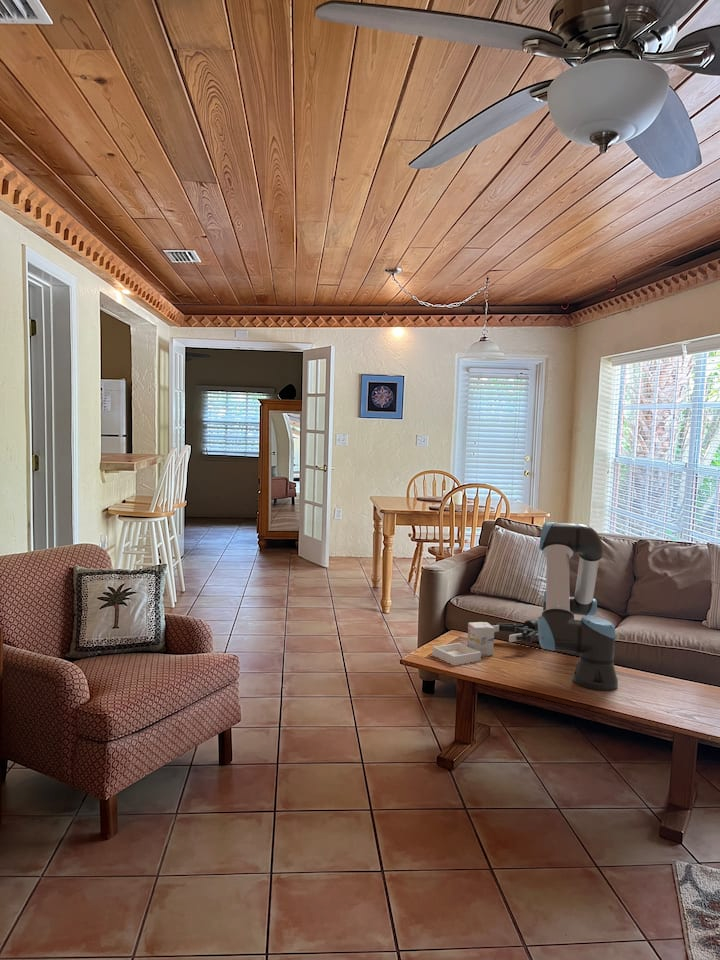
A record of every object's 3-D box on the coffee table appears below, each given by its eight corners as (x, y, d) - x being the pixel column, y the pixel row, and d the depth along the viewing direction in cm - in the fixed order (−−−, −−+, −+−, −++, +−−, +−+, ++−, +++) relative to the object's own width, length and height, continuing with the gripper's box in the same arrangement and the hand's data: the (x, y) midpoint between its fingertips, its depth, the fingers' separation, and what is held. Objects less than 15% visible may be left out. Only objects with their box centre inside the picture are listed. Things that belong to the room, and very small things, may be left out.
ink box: (466, 649, 271) (467, 621, 270) (485, 649, 272) (487, 621, 272) (473, 656, 262) (475, 627, 262) (493, 655, 264) (495, 627, 263)
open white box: (480, 660, 257) (481, 652, 257) (453, 665, 250) (454, 656, 250) (458, 651, 268) (459, 642, 268) (432, 655, 261) (432, 646, 261)
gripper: (556, 645, 273) (519, 651, 262) (513, 629, 294) (477, 635, 283) (557, 627, 272) (520, 633, 261) (514, 613, 294) (478, 617, 283)
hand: (498, 634), depth 272 cm, fingers open, 13 cm apart
